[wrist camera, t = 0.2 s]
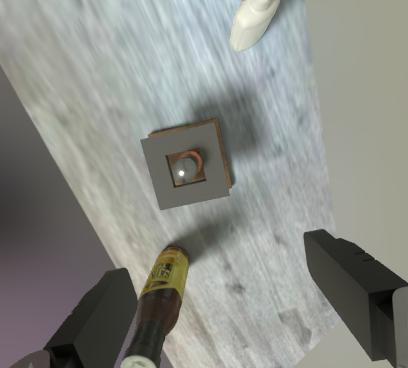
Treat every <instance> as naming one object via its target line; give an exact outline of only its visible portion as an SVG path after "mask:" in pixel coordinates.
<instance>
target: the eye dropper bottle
mask: <svg viewBox="0 0 408 368" xmlns="http://www.w3.org/2000/svg"><path fill="white" fill-rule="evenodd" d="M279 3H280V0H243V2H242V3H241V4H240V6H239V8H238V9H237V12H236V14H235V17H234V22H233V26H232V31H231V36H230V43H231V45H232V47H233V48H234V50H235V51H237V52H240V51H244V50H246V49H248V48H250V47H252V46H253V45H254V44H256V43H257V42H258V41H259V39H260V38H261V37H262V36H263V34H264V33H265V31H266V29H267V27H268V25H269V23H270V21H271V19H272V18H273V16H274V14H275V12H276V10H277V8H278V6H279Z"/></svg>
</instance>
